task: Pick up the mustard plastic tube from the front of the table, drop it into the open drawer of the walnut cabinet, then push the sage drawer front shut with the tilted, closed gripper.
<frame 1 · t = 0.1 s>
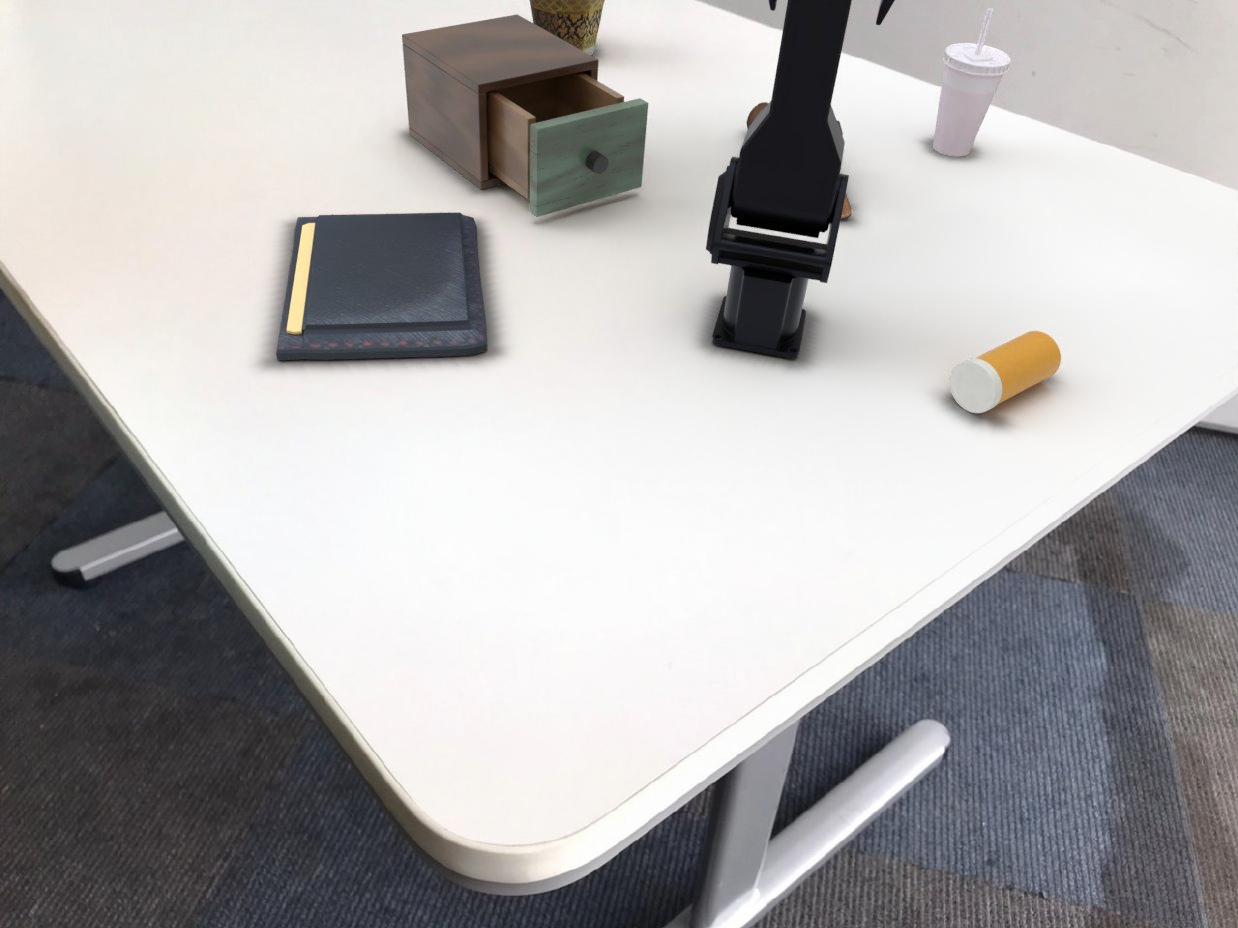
hand: (825, 16, 89), 15 cm above the table, tool pointing down, fingers open, 9 cm apart
tube: (1001, 389, 74), on the table
wallet: (386, 286, 79), on the table
brown rounded log: (794, 177, 99), on the table
ceramic cup: (554, 49, 120), on the table
cabinet: (500, 147, 99), on the table
drawer: (555, 135, 91), point 5 cm above the table, slide at 7.0 cm
smoothie: (950, 150, 105), on the table
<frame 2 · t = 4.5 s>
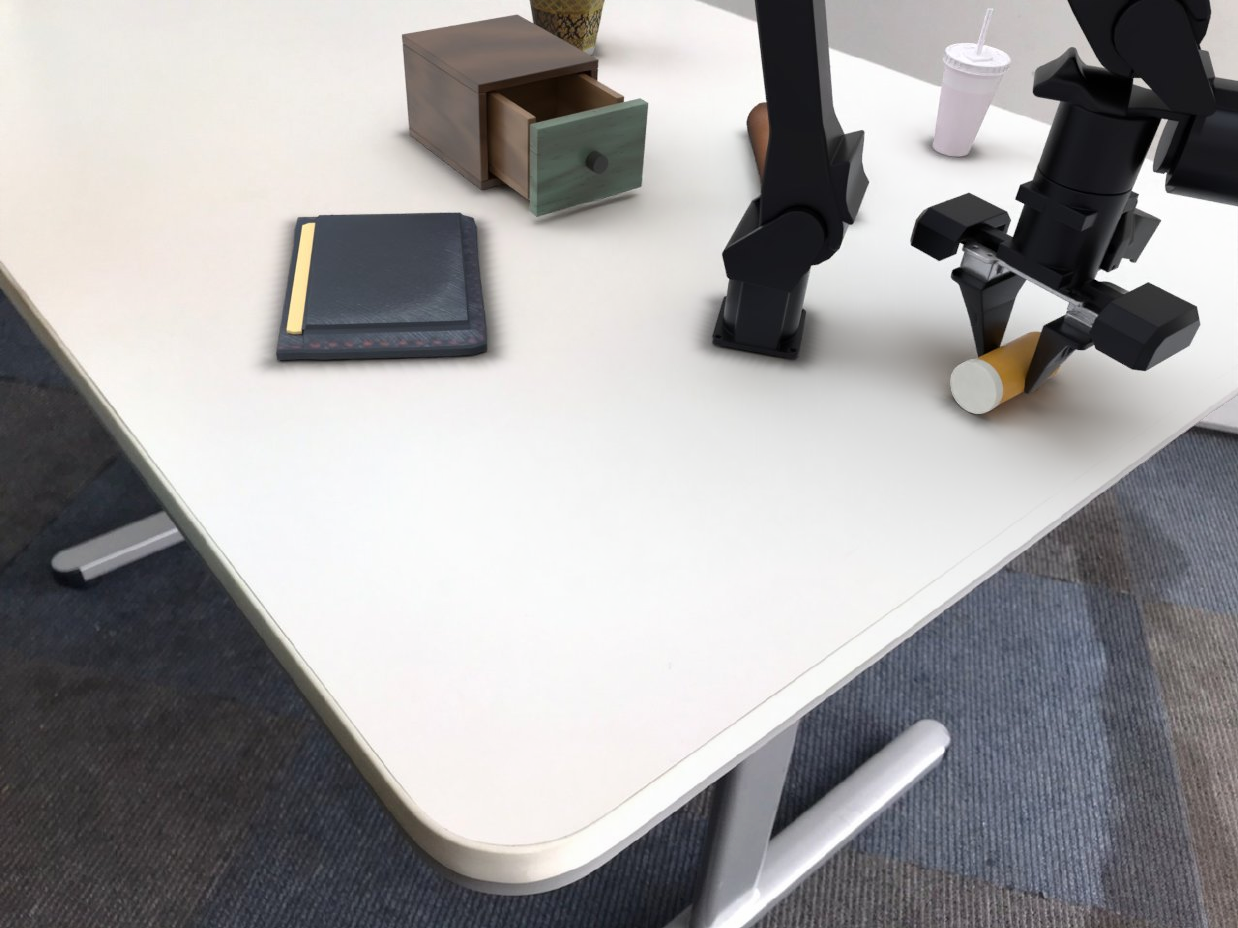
hand: (1007, 378, 73), 1 cm above the table, tool pointing down, fingers closed on tube, 3 cm apart
tube: (1000, 389, 74), on the table, touching gripper
everything else where it was.
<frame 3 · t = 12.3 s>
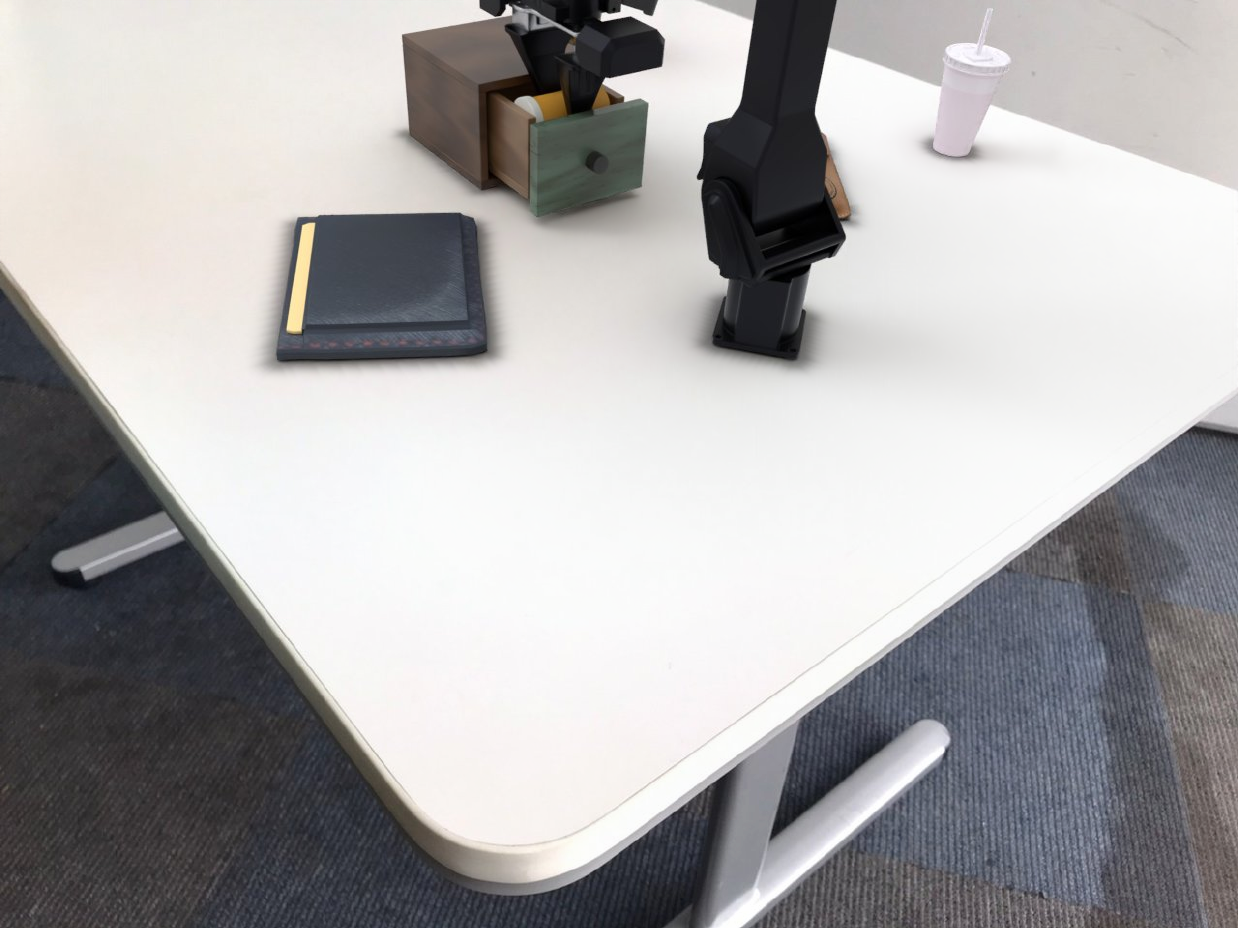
hand: (565, 121, 89), 7 cm above the table, tool pointing down, fingers closed on tube, 3 cm apart
tube: (564, 132, 89), point 6 cm above the table, touching gripper
drawer: (556, 135, 90), point 5 cm above the table, slide at 7.0 cm, touching gripper
everything else where it was.
when the fingers open (7 cm above the table, at t = 12.5 s): tube drops 3 cm, resting on drawer.
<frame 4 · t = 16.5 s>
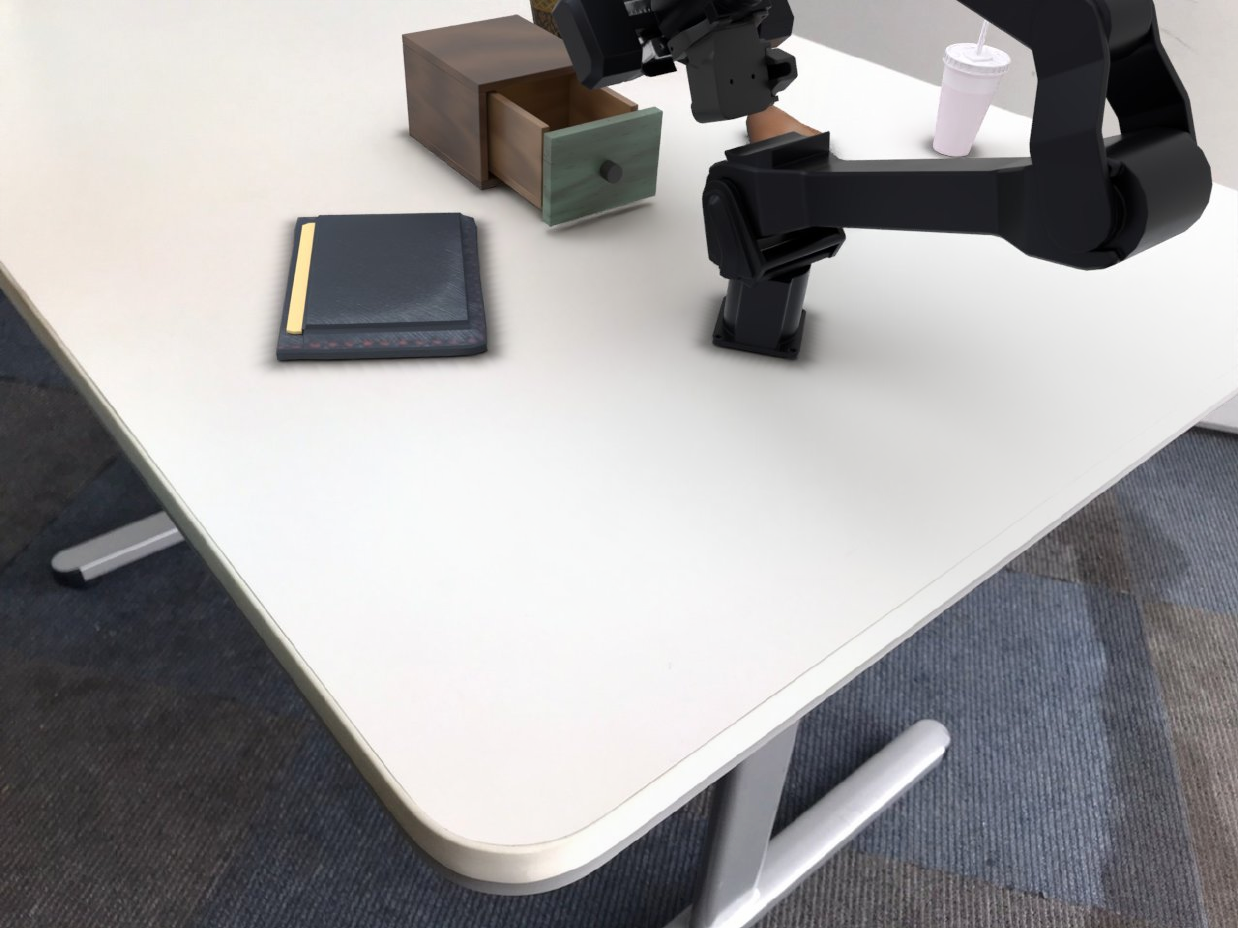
hand: (624, 75, 80), 13 cm above the table, tool tilted 45°, fingers closed
tube: (574, 176, 91), point 2 cm above the table, tilted 15°, touching drawer
drawer: (568, 144, 89), point 5 cm above the table, slide at 9.0 cm, touching tube
everything else where it was.
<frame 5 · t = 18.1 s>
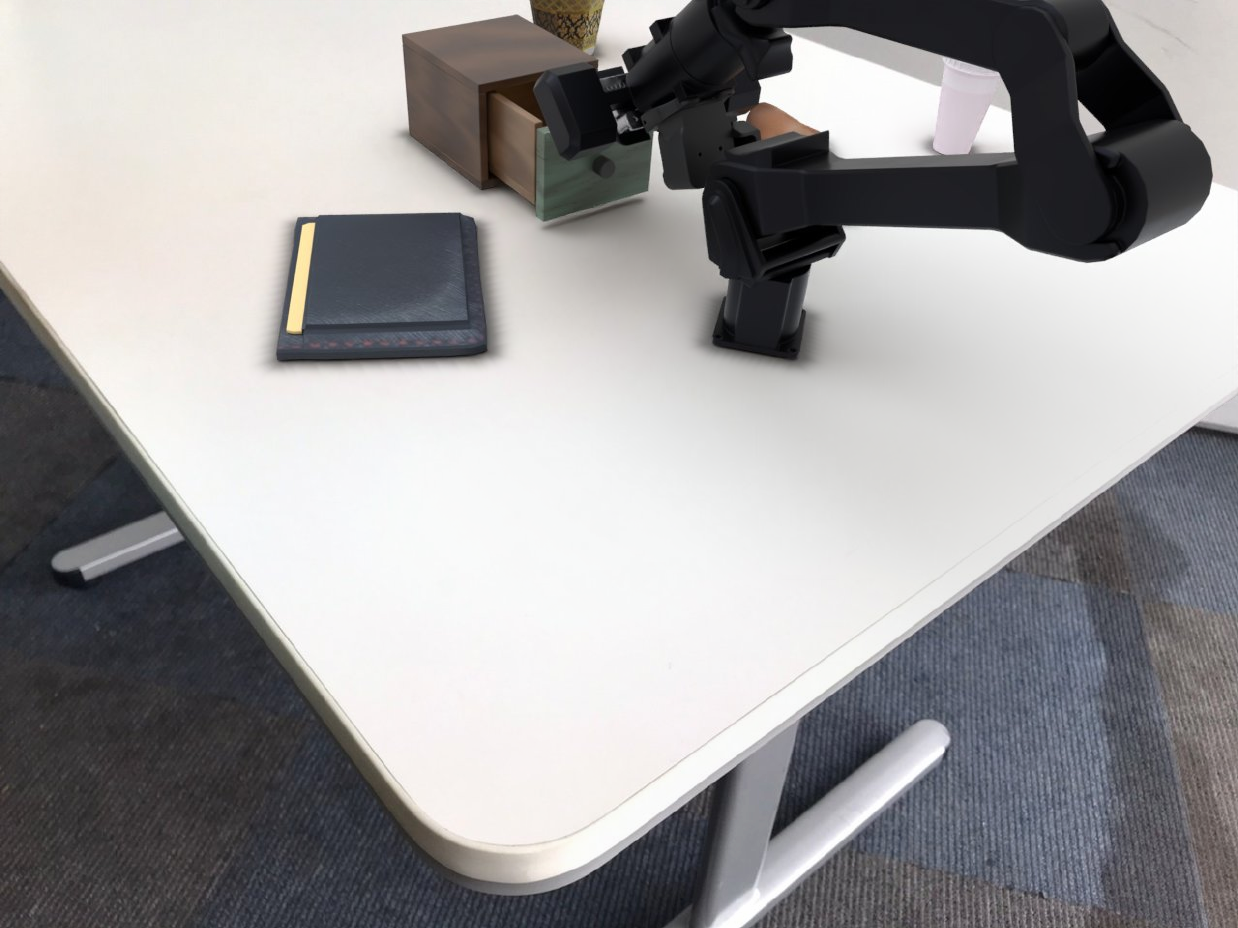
hand: (603, 137, 85), 7 cm above the table, tool tilted 45°, fingers closed, pressing on drawer
tube: (567, 172, 91), point 2 cm above the table, tilted 12°, touching drawer
drawer: (562, 139, 90), point 5 cm above the table, slide at 8.0 cm, touching gripper, tube
everything else where it was.
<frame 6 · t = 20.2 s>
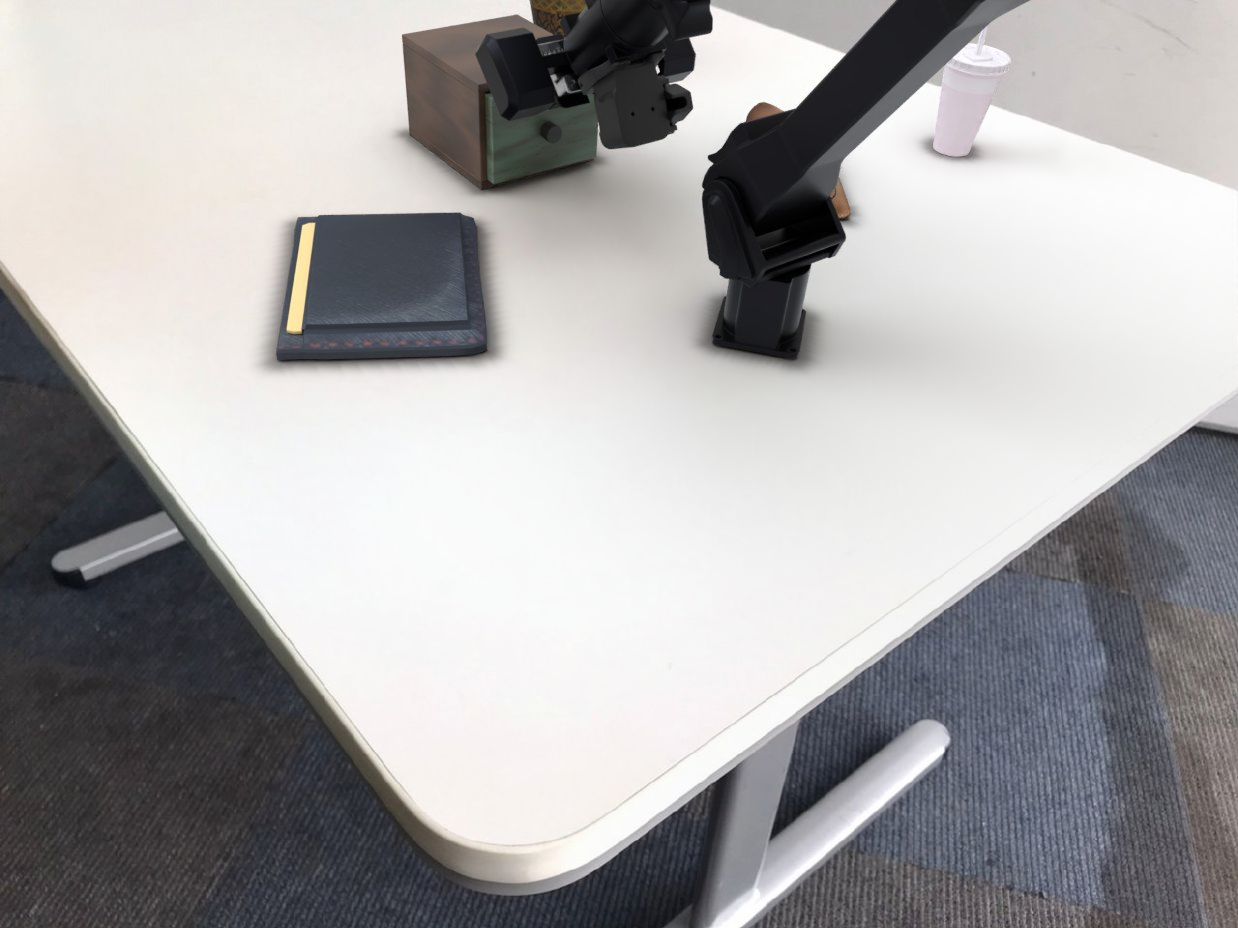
hand: (549, 104, 90), 7 cm above the table, tool tilted 45°, fingers closed, pressing on drawer
tube: (519, 139, 96), point 2 cm above the table, tilted 7°, touching drawer
drawer: (513, 107, 95), point 5 cm above the table, slide at 0.0 cm, touching cabinet, gripper, tube
everything else where it was.
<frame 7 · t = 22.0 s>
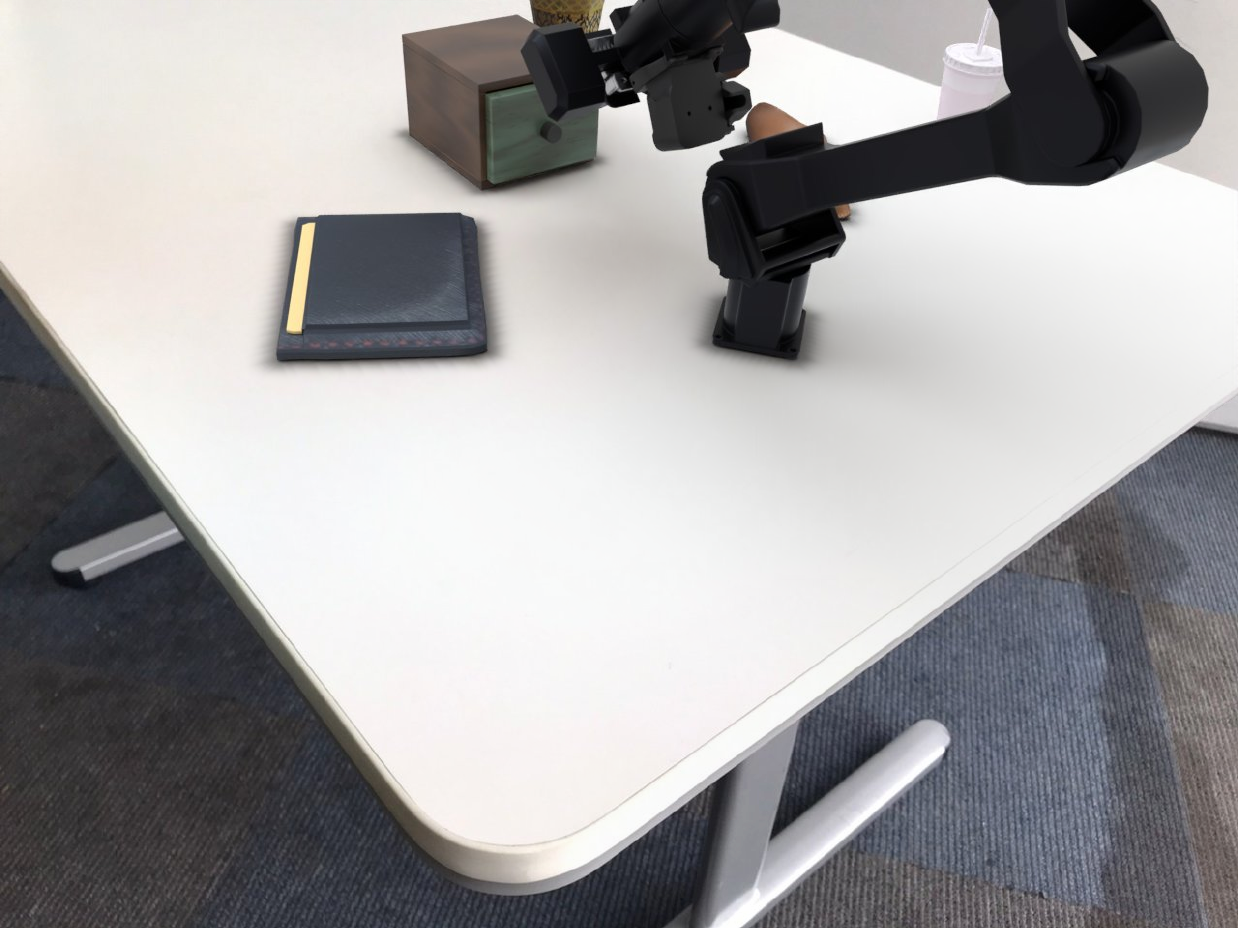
hand: (593, 104, 84), 10 cm above the table, tool tilted 45°, fingers closed
tube: (520, 136, 96), point 2 cm above the table, tilted 37°, touching drawer
drawer: (513, 107, 95), point 5 cm above the table, slide at 0.0 cm, touching cabinet, tube
everything else where it was.
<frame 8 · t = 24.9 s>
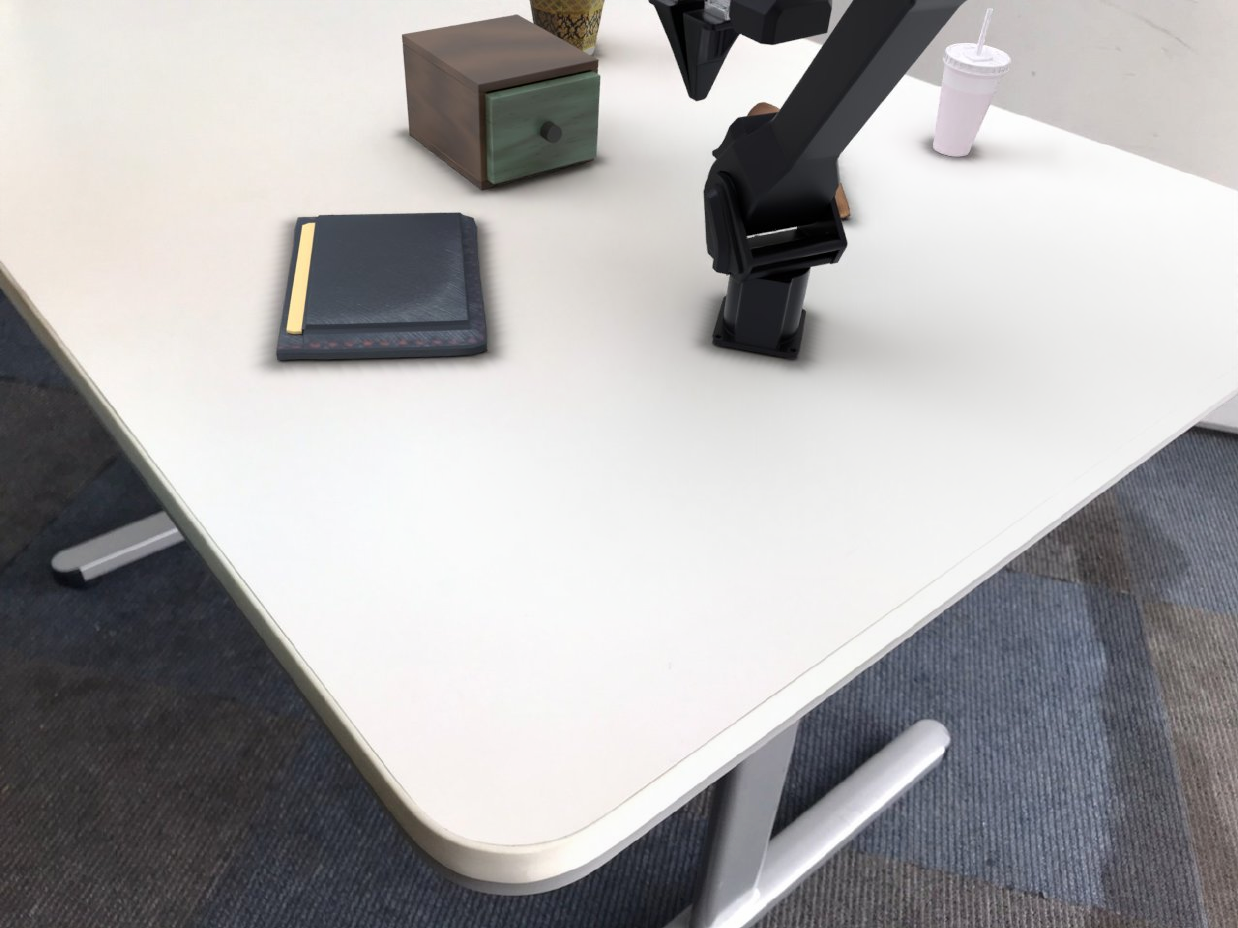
hand: (697, 99, 78), 13 cm above the table, tool pointing down, fingers closed
tube: (519, 139, 96), point 2 cm above the table, tilted 13°, touching drawer
everything else where it was.
at the end: tube inside the target area in the cabinet (1.1 cm from its centre), point 2.0 cm above the cabinet's base; drawer slide at 0.0 cm; the gripper is holding nothing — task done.
